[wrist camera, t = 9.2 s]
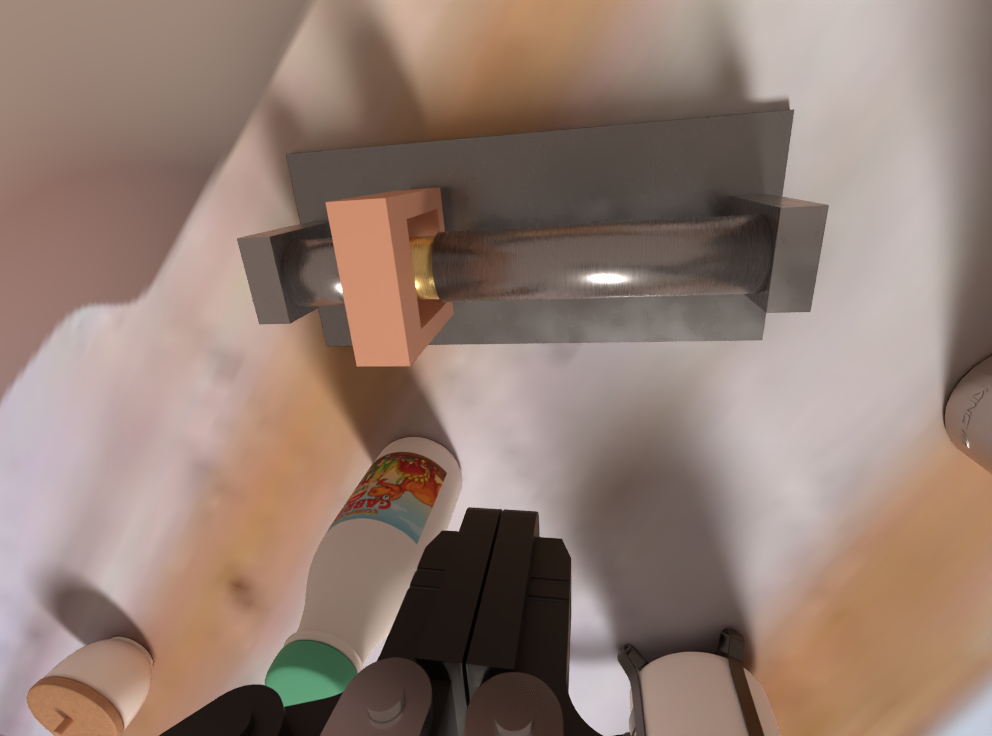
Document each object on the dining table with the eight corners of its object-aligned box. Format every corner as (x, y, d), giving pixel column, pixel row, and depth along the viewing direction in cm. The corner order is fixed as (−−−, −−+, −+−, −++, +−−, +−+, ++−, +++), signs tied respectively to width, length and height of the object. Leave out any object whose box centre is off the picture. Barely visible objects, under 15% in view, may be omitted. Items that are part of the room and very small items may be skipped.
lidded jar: (184, 685, 62) (120, 769, 53) (115, 683, 64) (43, 763, 55) (147, 621, 58) (71, 701, 49) (74, 622, 60) (-10, 698, 52)
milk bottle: (482, 474, 42) (406, 712, 24) (427, 522, 45) (323, 766, 27) (413, 416, 41) (279, 619, 23) (362, 469, 44) (207, 686, 26)
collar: (440, 187, 32) (385, 198, 23) (453, 314, 35) (410, 366, 26) (395, 190, 32) (325, 202, 23) (412, 315, 35) (356, 366, 27)
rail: (790, 110, 29) (874, 90, 21) (759, 337, 34) (816, 394, 26) (290, 154, 34) (197, 152, 26) (330, 343, 40) (262, 392, 31)
